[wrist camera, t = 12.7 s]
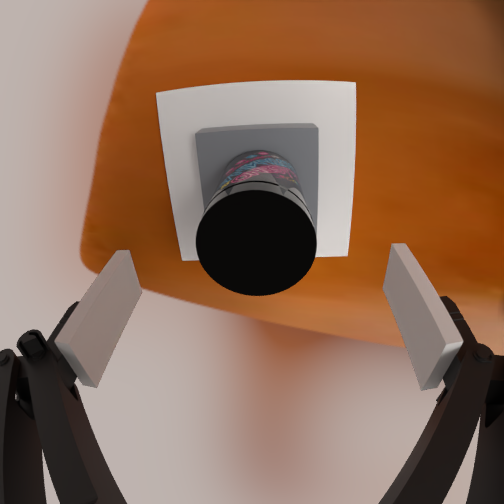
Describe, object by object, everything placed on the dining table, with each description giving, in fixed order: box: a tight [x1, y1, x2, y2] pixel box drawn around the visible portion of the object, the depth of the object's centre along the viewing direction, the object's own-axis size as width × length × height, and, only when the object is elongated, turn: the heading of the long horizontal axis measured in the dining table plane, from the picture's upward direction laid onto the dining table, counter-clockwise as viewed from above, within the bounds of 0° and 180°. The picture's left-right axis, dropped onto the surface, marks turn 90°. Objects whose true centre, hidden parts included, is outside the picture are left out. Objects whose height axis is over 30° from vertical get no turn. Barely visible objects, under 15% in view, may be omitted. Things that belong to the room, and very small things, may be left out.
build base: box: [156, 80, 356, 261], centre depth 28 cm, size 18×18×4 cm
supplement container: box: [196, 150, 317, 296], centre depth 22 cm, size 7×7×10 cm
